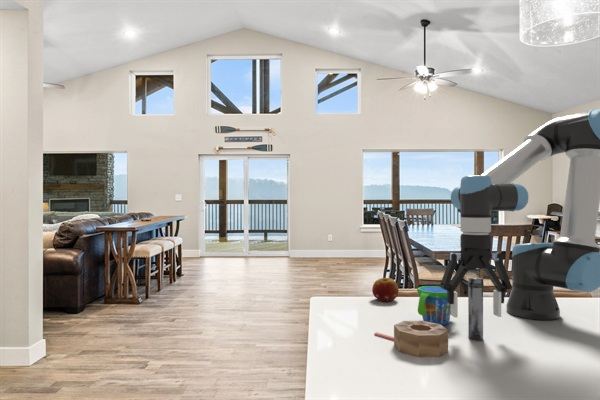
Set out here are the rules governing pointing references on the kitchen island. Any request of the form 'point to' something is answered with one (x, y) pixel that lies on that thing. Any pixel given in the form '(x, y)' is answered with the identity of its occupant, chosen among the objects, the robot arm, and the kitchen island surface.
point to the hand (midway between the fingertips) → (475, 315)
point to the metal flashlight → (475, 308)
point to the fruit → (385, 289)
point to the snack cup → (434, 304)
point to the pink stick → (384, 336)
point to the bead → (421, 338)
